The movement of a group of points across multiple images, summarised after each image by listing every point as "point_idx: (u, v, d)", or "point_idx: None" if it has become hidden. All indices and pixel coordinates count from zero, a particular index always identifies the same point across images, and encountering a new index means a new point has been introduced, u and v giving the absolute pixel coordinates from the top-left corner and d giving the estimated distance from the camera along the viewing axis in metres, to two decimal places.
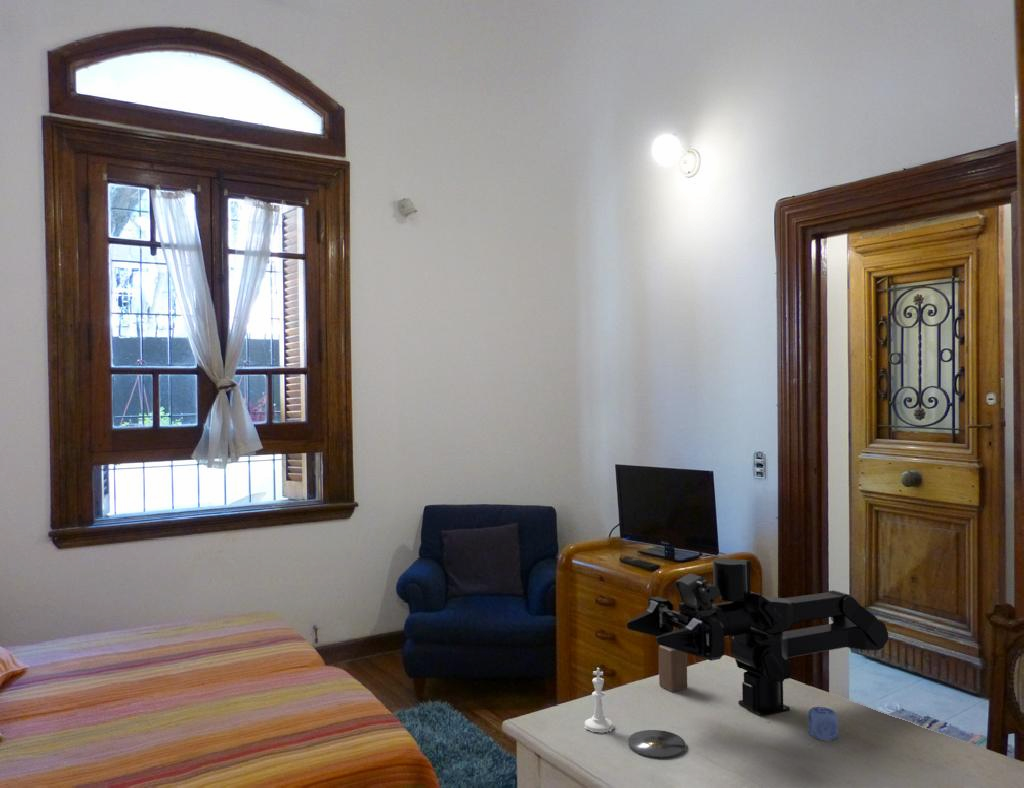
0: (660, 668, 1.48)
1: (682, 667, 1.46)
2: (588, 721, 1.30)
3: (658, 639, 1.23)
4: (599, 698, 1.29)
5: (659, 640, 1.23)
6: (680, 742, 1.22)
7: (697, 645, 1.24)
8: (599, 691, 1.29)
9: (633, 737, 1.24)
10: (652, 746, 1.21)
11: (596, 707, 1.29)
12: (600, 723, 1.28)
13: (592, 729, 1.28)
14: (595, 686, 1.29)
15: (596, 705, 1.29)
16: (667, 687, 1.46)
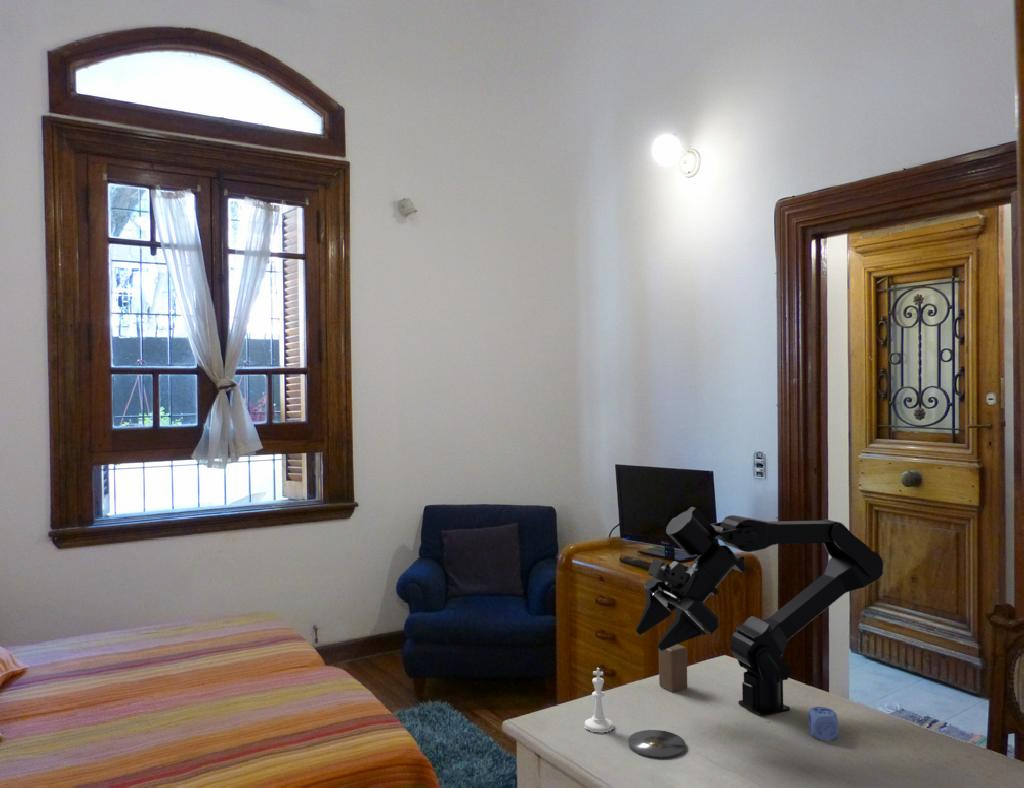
0: (660, 668, 1.48)
1: (682, 667, 1.46)
2: (588, 721, 1.30)
3: (659, 647, 1.27)
4: (599, 698, 1.29)
5: (661, 647, 1.27)
6: (680, 742, 1.22)
7: (694, 627, 1.27)
8: (599, 691, 1.29)
9: (633, 737, 1.24)
10: (652, 746, 1.21)
11: (596, 707, 1.29)
12: (600, 723, 1.28)
13: (592, 729, 1.28)
14: (595, 686, 1.29)
15: (596, 705, 1.29)
16: (667, 687, 1.46)
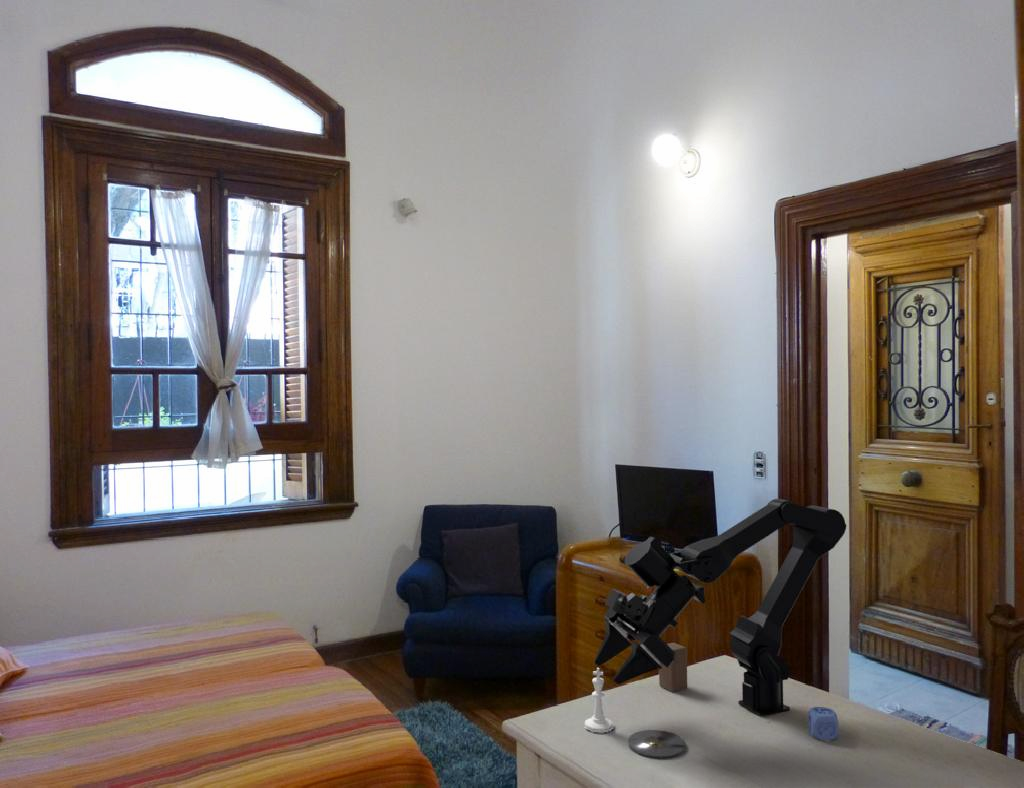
0: None
1: (682, 667, 1.46)
2: (588, 721, 1.30)
3: (615, 681, 1.25)
4: (599, 698, 1.29)
5: (617, 681, 1.25)
6: (680, 742, 1.22)
7: (650, 660, 1.25)
8: (599, 691, 1.29)
9: (633, 737, 1.24)
10: (652, 746, 1.21)
11: (596, 707, 1.29)
12: (600, 723, 1.28)
13: (592, 729, 1.28)
14: (595, 686, 1.29)
15: (596, 705, 1.29)
16: (667, 687, 1.46)
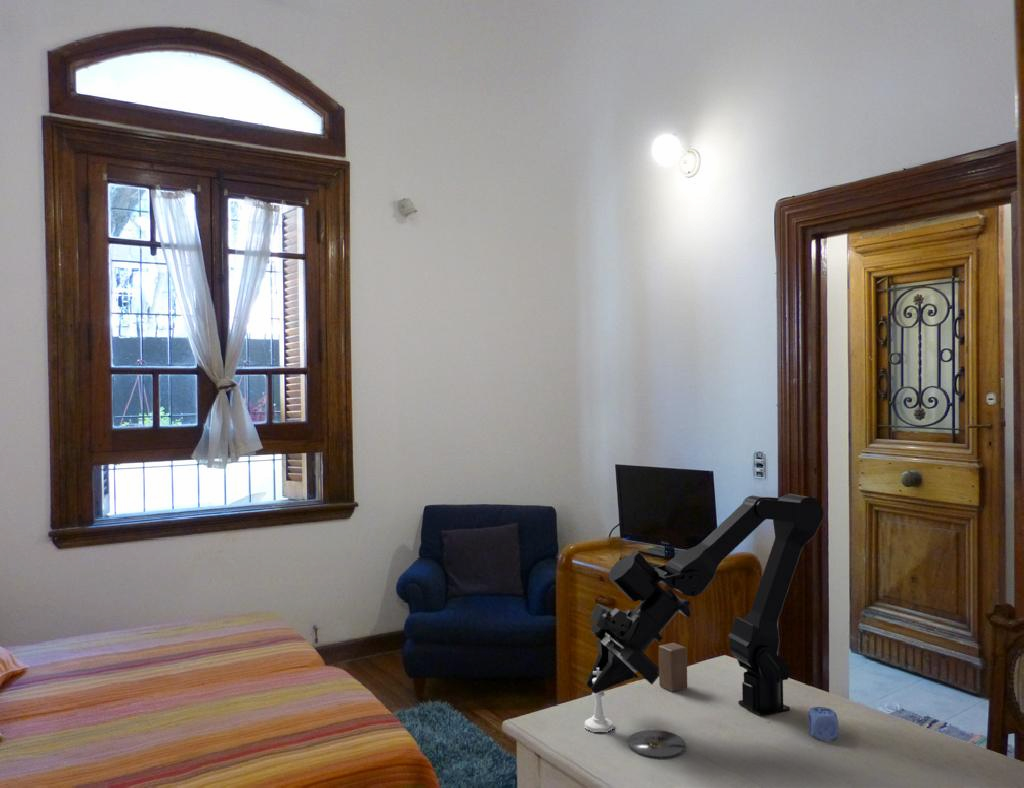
0: (660, 668, 1.48)
1: (682, 667, 1.46)
2: (588, 721, 1.30)
3: (593, 690, 1.28)
4: (599, 698, 1.29)
5: (594, 690, 1.28)
6: (680, 742, 1.22)
7: (626, 669, 1.28)
8: None
9: (633, 737, 1.24)
10: (652, 746, 1.21)
11: (596, 707, 1.29)
12: (600, 723, 1.28)
13: (592, 729, 1.28)
14: None
15: (596, 705, 1.29)
16: (667, 687, 1.46)
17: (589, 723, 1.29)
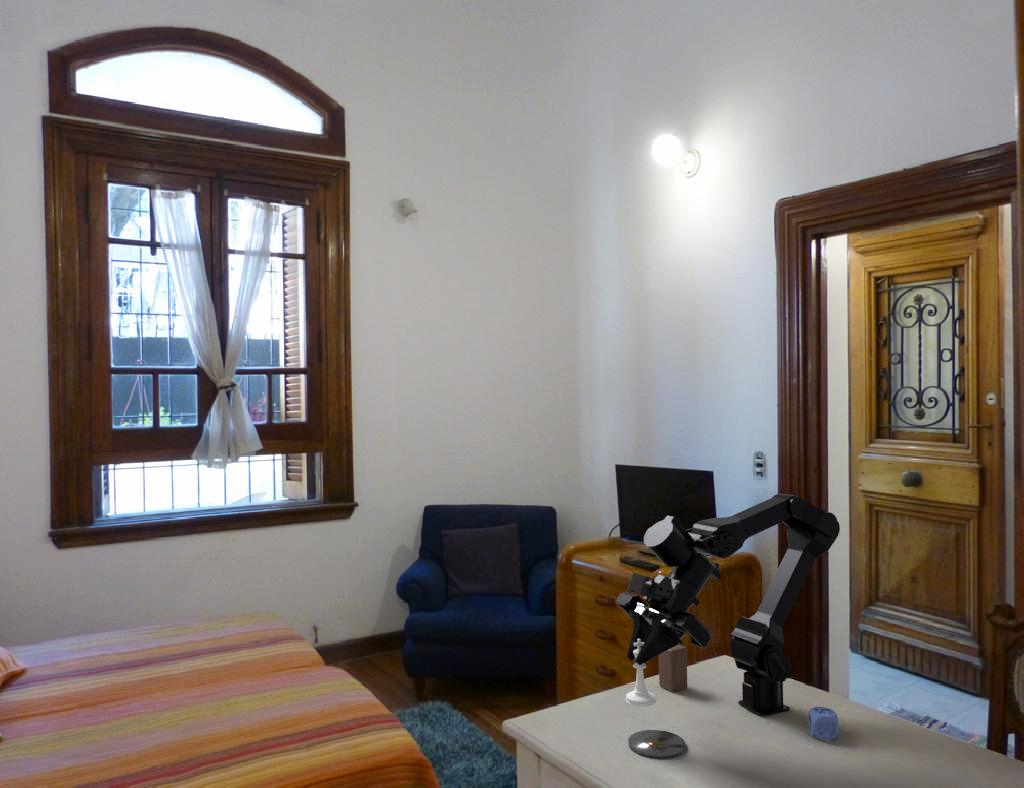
0: (660, 668, 1.48)
1: (682, 667, 1.46)
2: (630, 695, 1.24)
3: (638, 662, 1.23)
4: (641, 670, 1.24)
5: (639, 662, 1.23)
6: (680, 742, 1.22)
7: (670, 637, 1.24)
8: None
9: (633, 737, 1.24)
10: (652, 746, 1.21)
11: (638, 680, 1.24)
12: (644, 696, 1.23)
13: (638, 703, 1.22)
14: None
15: (638, 677, 1.24)
16: (667, 687, 1.46)
17: (633, 697, 1.23)
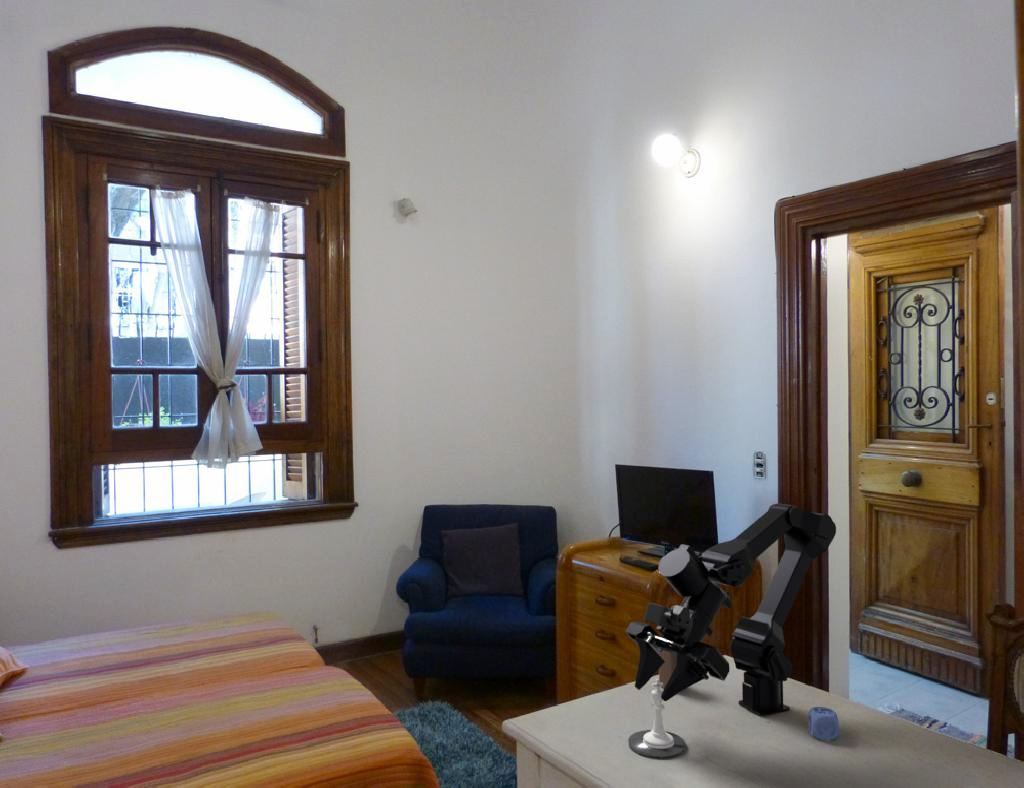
0: (660, 668, 1.48)
1: None
2: (649, 737, 1.21)
3: (663, 698, 1.19)
4: (660, 711, 1.22)
5: (665, 698, 1.19)
6: (680, 742, 1.22)
7: (695, 672, 1.21)
8: (660, 704, 1.22)
9: (633, 737, 1.24)
10: None
11: (657, 721, 1.22)
12: (664, 738, 1.21)
13: (658, 745, 1.20)
14: (656, 699, 1.22)
15: (657, 719, 1.22)
16: None
17: (652, 739, 1.21)
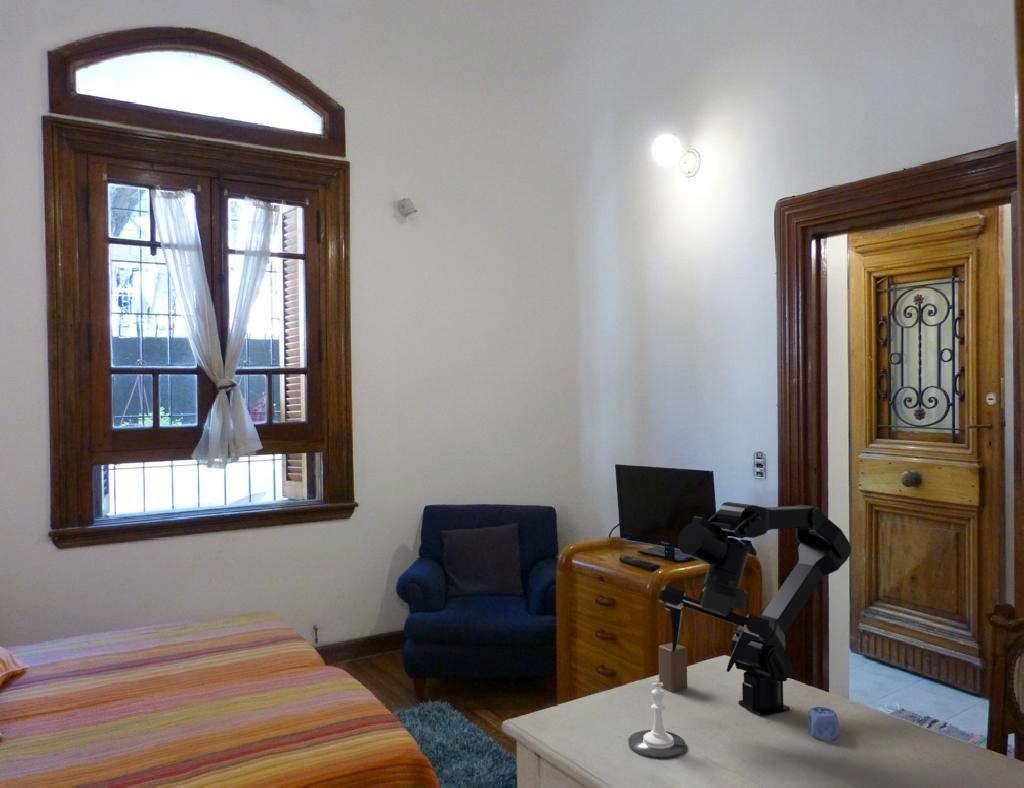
0: (660, 668, 1.48)
1: (682, 667, 1.46)
2: (649, 737, 1.21)
3: None
4: (660, 711, 1.22)
5: (729, 670, 1.27)
6: (680, 742, 1.22)
7: None
8: (660, 703, 1.22)
9: (633, 737, 1.24)
10: None
11: (657, 721, 1.22)
12: (664, 738, 1.21)
13: (658, 745, 1.20)
14: (656, 699, 1.22)
15: (657, 719, 1.22)
16: (667, 687, 1.46)
17: (652, 739, 1.21)
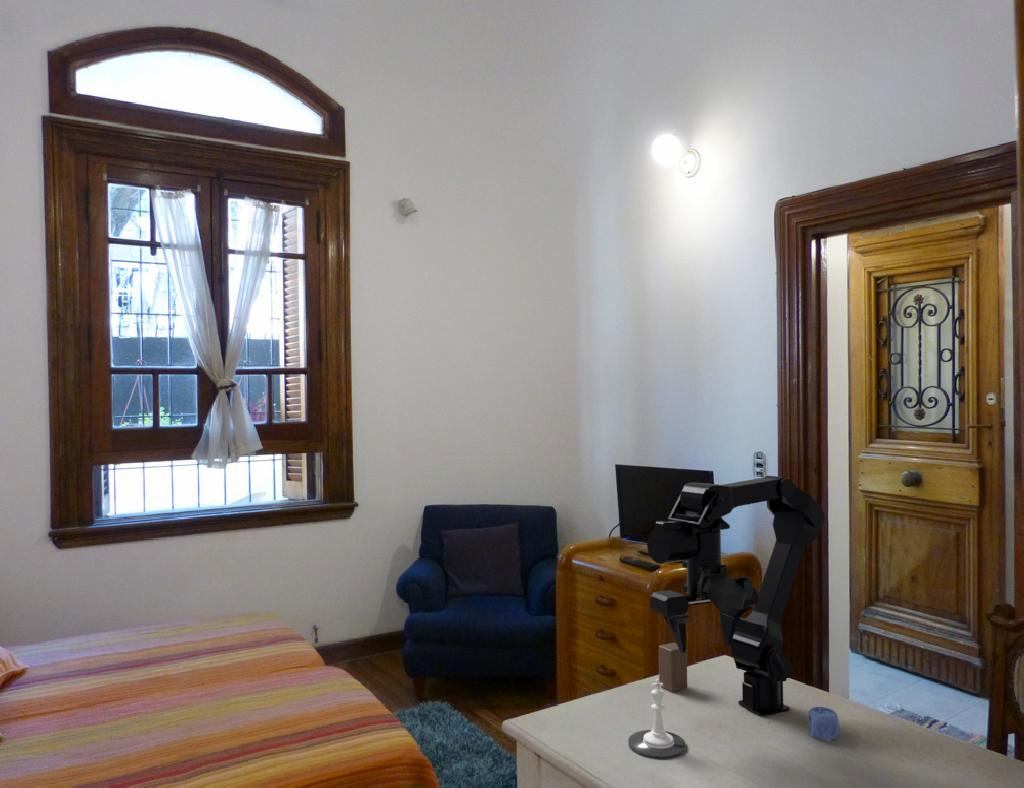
0: (660, 668, 1.48)
1: (682, 667, 1.46)
2: (649, 737, 1.21)
3: None
4: (660, 711, 1.22)
5: None
6: (680, 742, 1.22)
7: None
8: (660, 703, 1.22)
9: (633, 737, 1.24)
10: None
11: (657, 721, 1.22)
12: (664, 738, 1.21)
13: (658, 745, 1.20)
14: (656, 699, 1.22)
15: (657, 719, 1.22)
16: (667, 687, 1.46)
17: (652, 739, 1.21)
